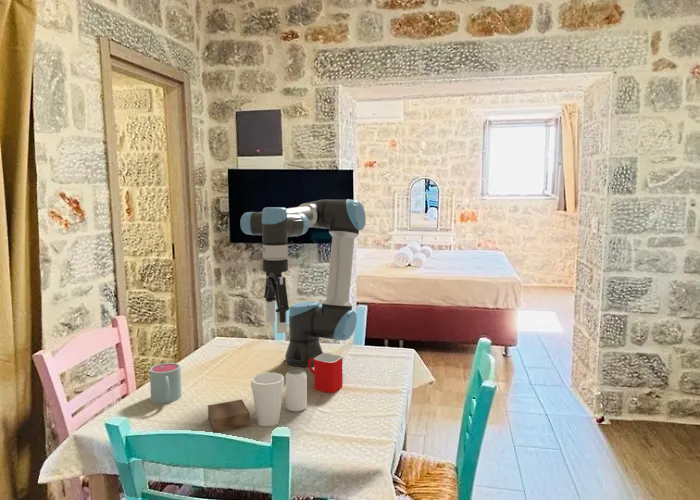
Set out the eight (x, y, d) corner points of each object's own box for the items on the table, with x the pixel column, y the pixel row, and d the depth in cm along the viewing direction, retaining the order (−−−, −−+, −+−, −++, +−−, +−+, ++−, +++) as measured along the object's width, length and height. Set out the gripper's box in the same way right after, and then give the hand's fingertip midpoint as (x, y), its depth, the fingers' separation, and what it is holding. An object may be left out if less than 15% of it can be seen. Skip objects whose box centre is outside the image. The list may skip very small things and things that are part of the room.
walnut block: (242, 412, 149) (241, 399, 149) (249, 426, 140) (249, 412, 140) (208, 418, 145) (207, 405, 144) (214, 433, 136) (213, 419, 135)
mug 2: (344, 385, 170) (344, 355, 169) (332, 394, 162) (332, 363, 161) (315, 379, 175) (315, 350, 174) (302, 387, 168) (302, 357, 167)
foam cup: (254, 414, 148) (253, 372, 146) (285, 413, 148) (284, 371, 147) (250, 429, 138) (249, 385, 137) (283, 428, 139) (282, 384, 137)
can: (303, 413, 148) (303, 374, 147) (283, 411, 150) (282, 373, 148) (309, 404, 155) (309, 367, 153) (289, 402, 156) (289, 366, 155)
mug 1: (150, 394, 162) (149, 365, 161) (180, 390, 166) (179, 361, 165) (151, 411, 150) (150, 379, 149) (183, 406, 153) (182, 375, 152)
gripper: (254, 254, 158) (255, 318, 161) (273, 264, 136) (274, 339, 138) (276, 253, 161) (277, 316, 164) (299, 263, 138) (299, 336, 141)
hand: (276, 327), depth 151 cm, fingers open, 13 cm apart
